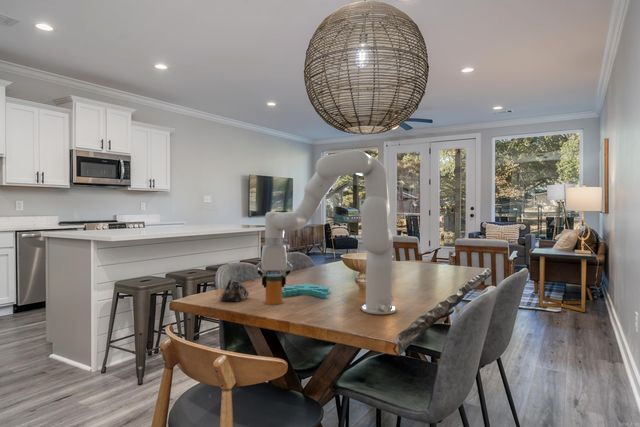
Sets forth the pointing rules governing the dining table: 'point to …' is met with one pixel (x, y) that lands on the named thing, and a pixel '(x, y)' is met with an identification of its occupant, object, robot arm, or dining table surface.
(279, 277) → the lid
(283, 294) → the alien figure
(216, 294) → the dining table surface
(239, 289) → the rock
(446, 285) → the dining table surface
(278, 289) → the jar
